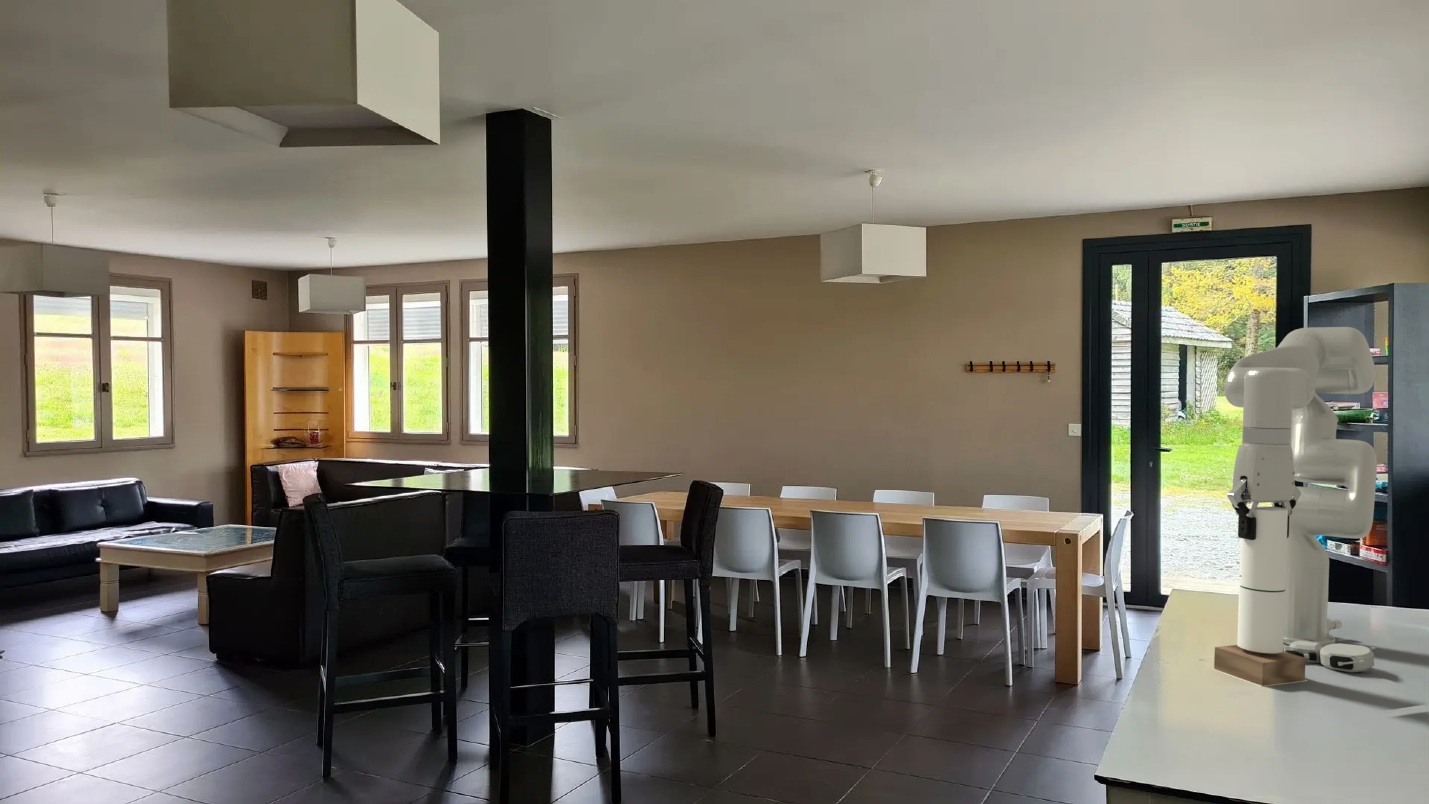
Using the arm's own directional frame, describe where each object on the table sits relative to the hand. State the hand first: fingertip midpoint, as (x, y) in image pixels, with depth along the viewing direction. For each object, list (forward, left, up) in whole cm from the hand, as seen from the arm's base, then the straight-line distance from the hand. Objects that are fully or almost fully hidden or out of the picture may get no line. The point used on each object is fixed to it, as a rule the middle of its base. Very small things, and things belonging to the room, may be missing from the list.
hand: (1263, 537), depth 172 cm
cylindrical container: (0, 0, -20) cm, 20 cm away
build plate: (0, 0, -26) cm, 26 cm away
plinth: (0, 0, -25) cm, 25 cm away
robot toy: (-19, -2, -26) cm, 32 cm away
